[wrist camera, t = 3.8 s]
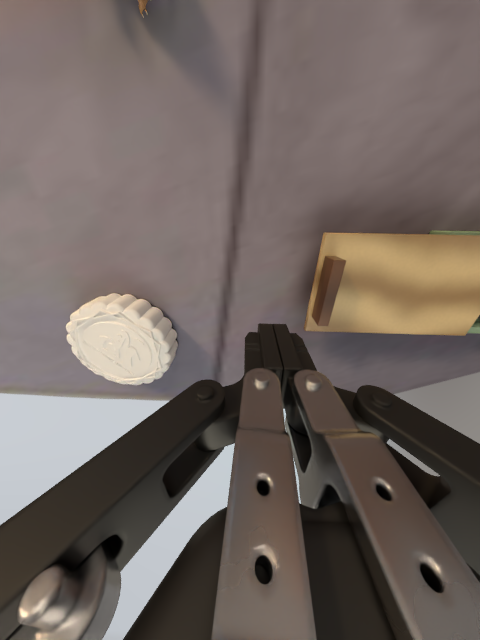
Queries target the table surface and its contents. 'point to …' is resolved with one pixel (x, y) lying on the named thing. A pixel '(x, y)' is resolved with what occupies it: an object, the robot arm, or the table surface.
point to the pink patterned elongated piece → (142, 6)
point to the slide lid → (396, 284)
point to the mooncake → (122, 339)
